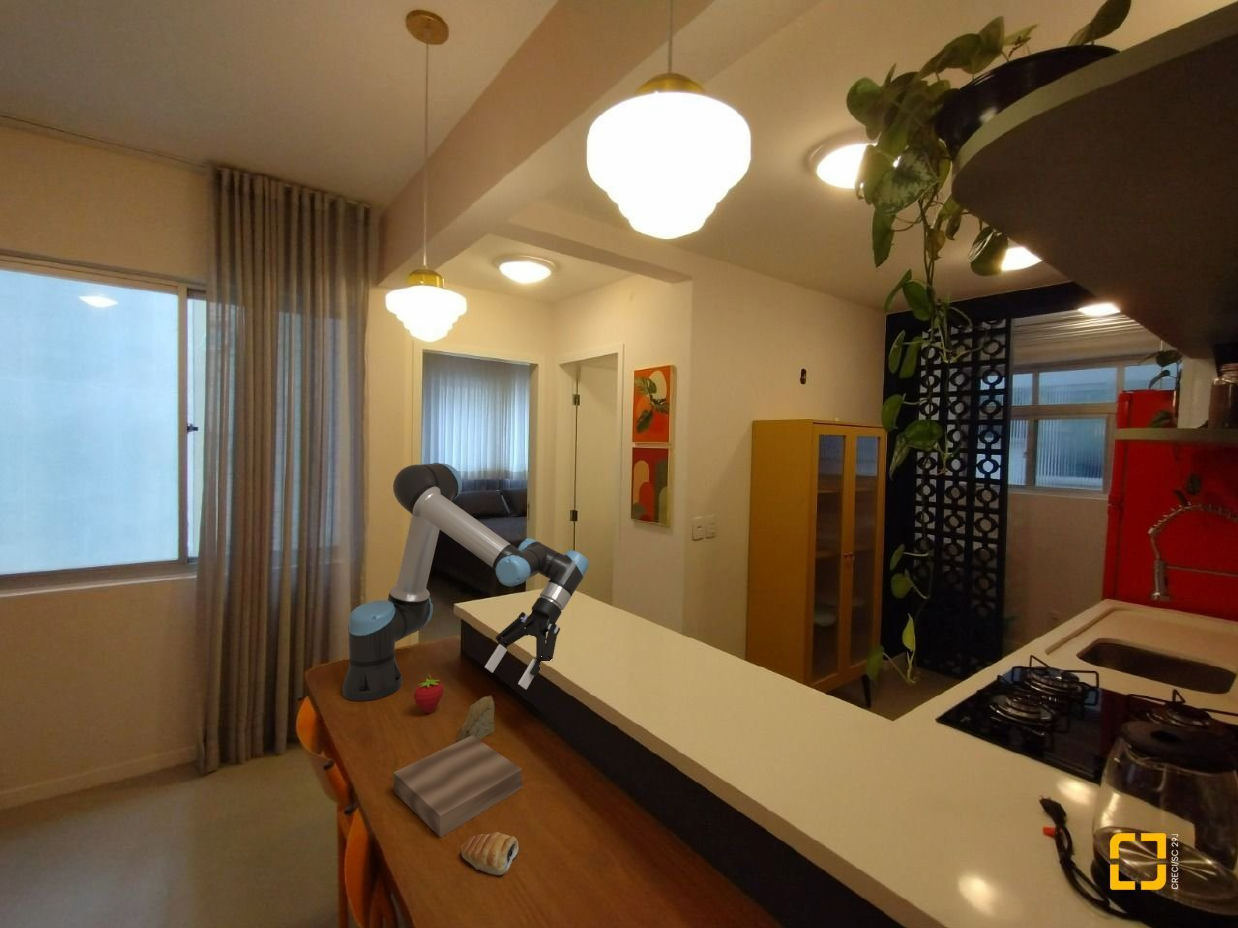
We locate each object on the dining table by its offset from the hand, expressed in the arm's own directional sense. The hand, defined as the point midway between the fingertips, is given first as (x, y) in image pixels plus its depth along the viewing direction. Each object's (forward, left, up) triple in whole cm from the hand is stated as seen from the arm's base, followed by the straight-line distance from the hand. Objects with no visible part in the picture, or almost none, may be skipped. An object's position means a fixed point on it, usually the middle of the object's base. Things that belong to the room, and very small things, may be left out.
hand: (504, 678), depth 130 cm
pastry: (+33, -26, -12) cm, 44 cm away
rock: (-1, -8, -12) cm, 14 cm away
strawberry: (-19, -10, -12) cm, 25 cm away
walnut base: (+13, -21, -12) cm, 27 cm away
